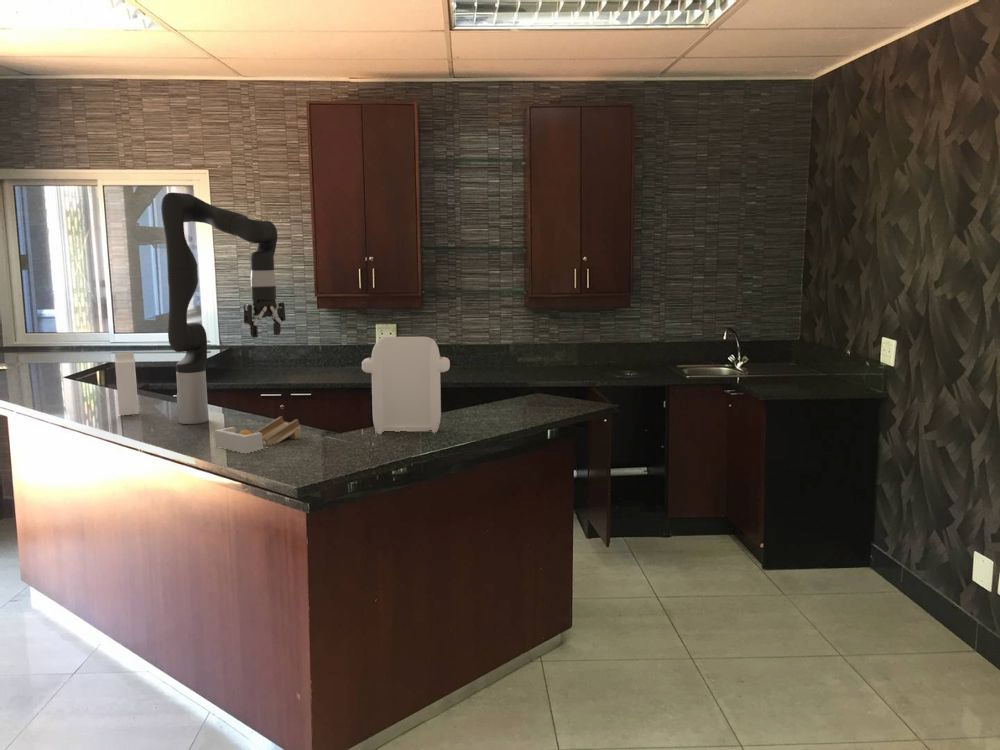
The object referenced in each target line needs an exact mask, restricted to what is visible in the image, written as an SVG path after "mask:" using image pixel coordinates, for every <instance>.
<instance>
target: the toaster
mask: <svg viewBox="0 0 1000 750" xmlns="http://www.w3.org/2000/svg"><path fill="white" fill-rule="evenodd" d="M439 350H440V349H439V346H438V344H437V343H436V341H435V340H434V339H433V338H431V337H428V336H385V337H382V338H380V339H378V341H377V342H376V343H375V344H374V346H373V348H372V351H371V357H367V358H364V359H363V360H362V361H361V370H362V372H364V373H367V374H371V396H372V397H371V398H372V399H371V400H372V401H371V405H372V408H371V409H372V423H373V427H374V429H375V431H376V433H377V434H378V435H382V433H383V432H384V431H395V432H397V433H398V432H399V433H401V432H400V431H407V432H430V431H429V430H432V431H431V432H432V434H433V433H434V434H436V433H437V432H438V430H439V427H440V423H441V418H442V417H441V416H442V400H441V399H442V398H441V397H442V395H441V392H442V391H441V388H442V387H441V373H445V372H447V371H449V370H450V367H451V366H450V365H451V363H450V362H451V361H450V359H449V358H448V357H446V356H441V354H440V351H439ZM395 432H394V433H395ZM435 432H436V433H435ZM384 433H385V432H384Z"/></svg>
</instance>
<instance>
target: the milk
mask: <svg viewBox="0 0 1000 750" xmlns="http://www.w3.org/2000/svg"><path fill="white" fill-rule="evenodd" d="M134 353H135V352H133V351H126V352H125V351H123V352H115V353H114V356H115V357H114V367H115V378H116V380H115V381H116V393H117V404H118V416H119V415H123V414H138V415H139V412H138V411H139V399H138V389H137V388H138V386H137V385H138V384H137V373H136V371H137V370H136V360H135V354H134Z"/></svg>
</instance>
